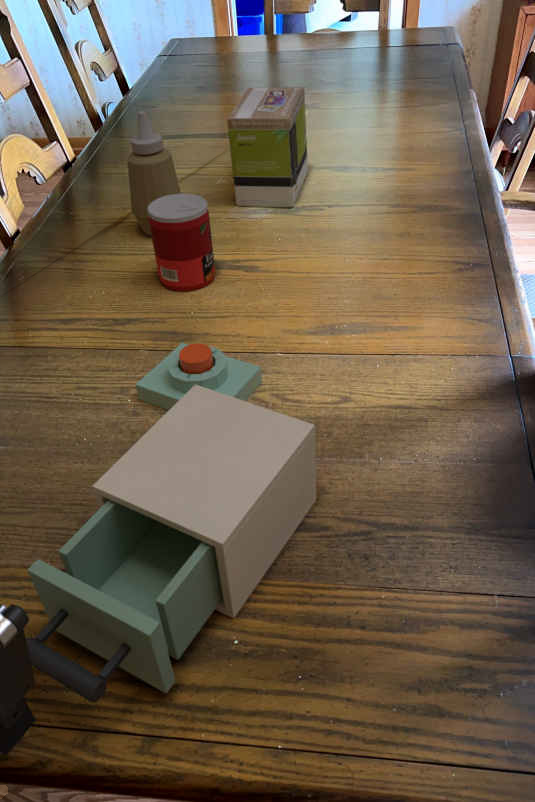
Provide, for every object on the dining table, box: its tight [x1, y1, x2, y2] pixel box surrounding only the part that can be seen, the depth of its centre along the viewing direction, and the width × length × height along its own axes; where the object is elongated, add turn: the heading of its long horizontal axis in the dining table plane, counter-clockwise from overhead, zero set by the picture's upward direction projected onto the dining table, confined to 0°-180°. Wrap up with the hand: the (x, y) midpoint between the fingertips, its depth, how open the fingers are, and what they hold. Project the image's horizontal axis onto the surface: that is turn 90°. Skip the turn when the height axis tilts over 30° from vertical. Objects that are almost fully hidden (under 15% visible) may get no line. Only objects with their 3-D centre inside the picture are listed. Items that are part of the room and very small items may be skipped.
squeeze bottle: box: [126, 110, 182, 236], centre depth 108 cm, size 8×8×18 cm
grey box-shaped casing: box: [92, 385, 317, 619], centre depth 63 cm, size 15×13×10 cm
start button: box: [179, 343, 213, 374], centre depth 79 cm, size 4×4×2 cm
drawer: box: [26, 499, 223, 704], centre depth 56 cm, size 18×11×8 cm, turn 150°
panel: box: [135, 342, 263, 411], centre depth 80 cm, size 11×9×4 cm
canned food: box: [147, 193, 216, 292], centre depth 97 cm, size 8×8×11 cm
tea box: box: [226, 86, 309, 208], centre depth 118 cm, size 15×10×15 cm, turn 168°
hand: (13, 732), depth 47 cm, fingers closed
